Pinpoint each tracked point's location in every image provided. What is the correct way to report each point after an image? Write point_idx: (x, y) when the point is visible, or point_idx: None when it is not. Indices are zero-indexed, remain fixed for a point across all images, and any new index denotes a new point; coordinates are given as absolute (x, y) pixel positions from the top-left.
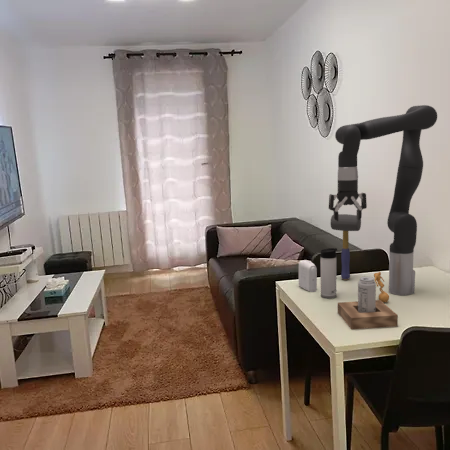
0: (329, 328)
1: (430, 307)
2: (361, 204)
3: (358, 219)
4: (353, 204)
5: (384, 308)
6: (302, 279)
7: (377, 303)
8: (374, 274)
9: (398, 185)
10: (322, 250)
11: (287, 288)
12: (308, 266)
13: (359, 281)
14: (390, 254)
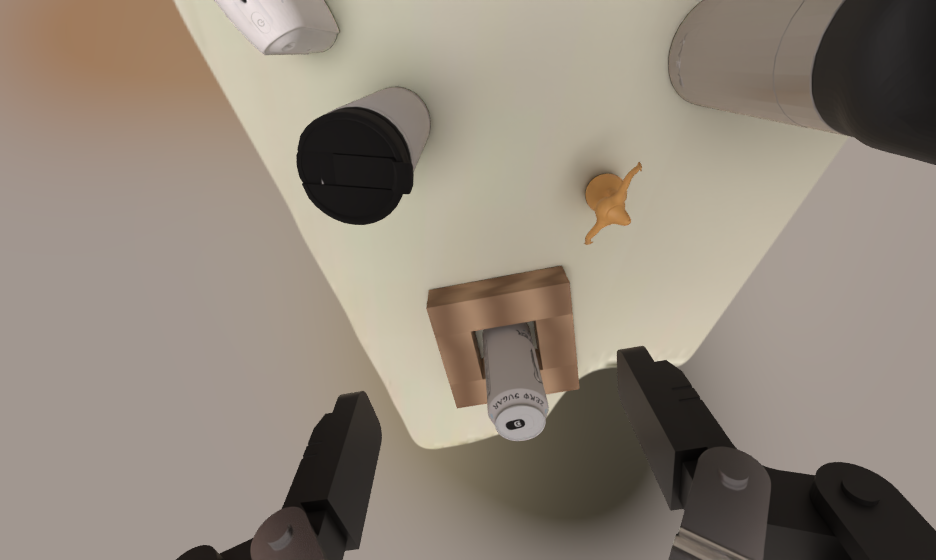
0: (405, 383)
1: (731, 235)
2: (853, 543)
3: (623, 400)
4: (671, 551)
5: (559, 349)
6: None
7: (551, 313)
8: (599, 215)
9: None
10: (306, 148)
11: None
12: (247, 38)
13: (492, 419)
14: (797, 66)
